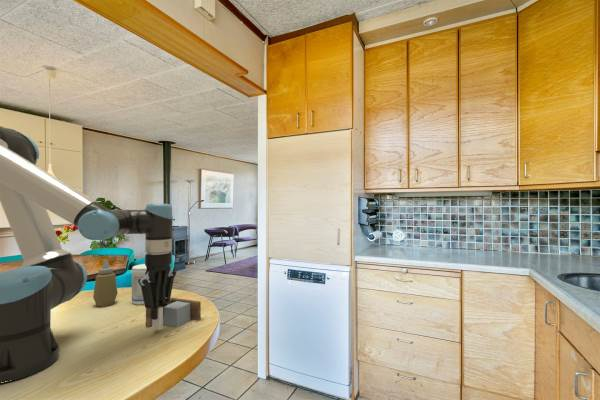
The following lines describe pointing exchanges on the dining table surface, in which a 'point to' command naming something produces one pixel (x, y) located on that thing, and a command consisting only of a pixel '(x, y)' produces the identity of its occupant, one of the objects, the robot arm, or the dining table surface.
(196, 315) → the corner fence
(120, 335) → the dining table surface
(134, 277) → the supplement tub
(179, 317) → the grey block
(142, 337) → the dining table surface
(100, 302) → the squeeze bottle
